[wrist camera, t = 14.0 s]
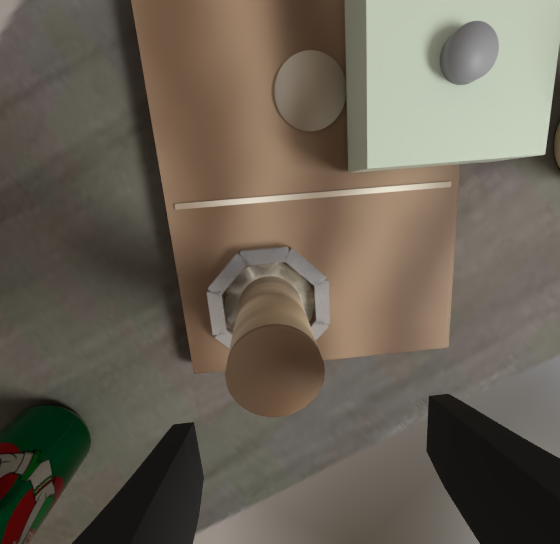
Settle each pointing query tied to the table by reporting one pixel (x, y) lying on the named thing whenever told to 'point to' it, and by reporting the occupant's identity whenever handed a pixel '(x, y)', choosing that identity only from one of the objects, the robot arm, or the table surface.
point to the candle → (557, 145)
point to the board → (288, 173)
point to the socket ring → (263, 266)
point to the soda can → (37, 466)
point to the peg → (273, 351)
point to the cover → (448, 81)
